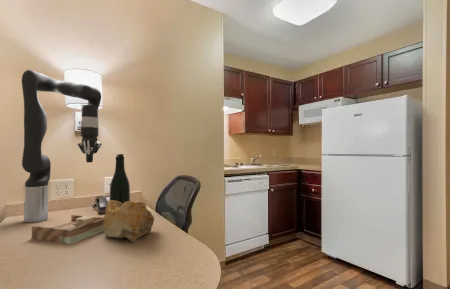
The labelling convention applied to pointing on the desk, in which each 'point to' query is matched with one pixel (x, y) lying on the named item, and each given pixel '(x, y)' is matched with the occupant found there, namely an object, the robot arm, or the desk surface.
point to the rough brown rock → (127, 220)
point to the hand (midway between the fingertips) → (89, 162)
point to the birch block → (84, 220)
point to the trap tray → (68, 231)
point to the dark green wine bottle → (120, 182)
